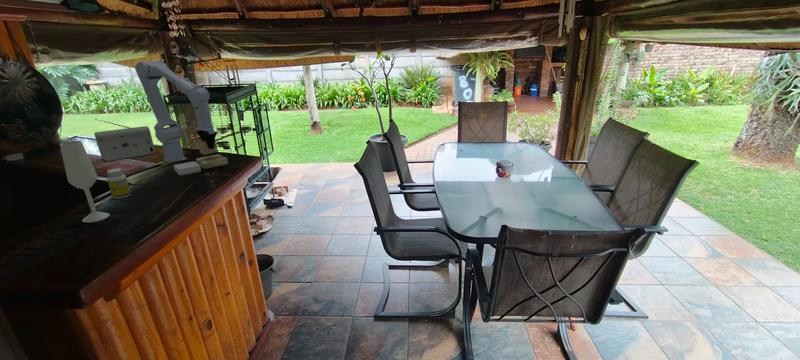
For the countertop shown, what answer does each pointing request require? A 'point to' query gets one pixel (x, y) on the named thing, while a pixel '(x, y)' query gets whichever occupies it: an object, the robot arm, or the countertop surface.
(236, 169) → the countertop surface
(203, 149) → the terracotta cube
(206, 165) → the olive block
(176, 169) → the grey block
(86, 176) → the champagne flute
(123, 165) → the countertop surface
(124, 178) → the supplement bottle
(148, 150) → the stereo radio cassette player
